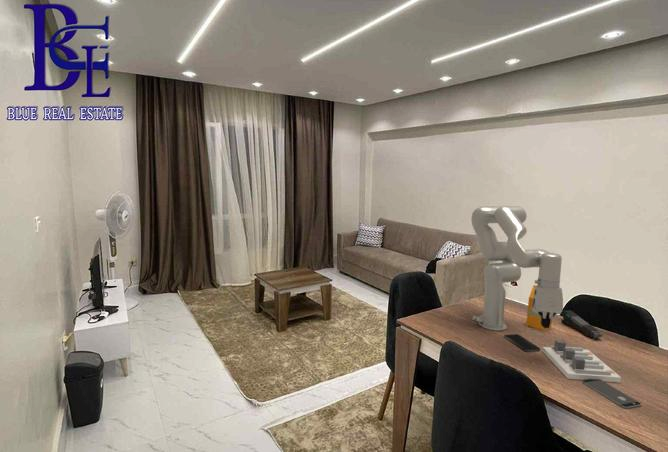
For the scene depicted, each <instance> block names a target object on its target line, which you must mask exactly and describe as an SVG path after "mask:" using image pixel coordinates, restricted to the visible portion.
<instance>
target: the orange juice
mask: <svg viewBox="0 0 668 452" xmlns="http://www.w3.org/2000/svg"><path fill="white" fill-rule="evenodd" d="M535 288H536V285H533V286H532V288H531V291H530V294H529V297H528V302H527V303H528V305H527V313H526V326H529V327H532V328H534V329H537V330H541V331H544V332H546V331H547V330H549V329H551V328H552V322H553V318H552V319H551V322H550V326H549V328H544V327H543V326H542V325H541V316H540V315H539V314H537V313H534V312H532V309H533V306H532V302H533V295H534V291H535ZM546 313H547V312H546Z"/></svg>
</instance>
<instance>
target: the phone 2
mask: <svg viewBox="0 0 668 452" xmlns="http://www.w3.org/2000/svg"><path fill="white" fill-rule="evenodd" d="M581 383H582V384H583V385H585V386H587V387H588V388H590V389H591V390H593V391H595V392H596V393H598V394H600V396H603V397H604V398H606V399H607V400H609V401H611V402H612V403H614V404H616V406H619V407H620V408H622V409H625V410H627V409H628V410H630V409H633V408H640V407H641V406H642V404H641V403H640V402H639V401H637V400H636V399H634V398H633V397H631V396H629V395H627V394H626V393H624V392H622V391H620V390H619V389H617V388H616V387H614V386H612V385H610V384H608V383H607V382H605V381H602V380H598V379H587V380H581Z"/></svg>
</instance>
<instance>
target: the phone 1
mask: <svg viewBox="0 0 668 452" xmlns="http://www.w3.org/2000/svg"><path fill="white" fill-rule="evenodd" d="M503 338H504V339H505V340H507V341H509V342H510V343H511V344H513V345H514V346H515V347H517V348H519V349H520V350H521V351H523V352H525V353H532V352H540V351H541V347H539V346H537V345H536V344H534V343H533V342H531V341H529V340H528V339H526V338H525V337H524V336H522V335H521V334H518V333H513V334H504V335H503Z"/></svg>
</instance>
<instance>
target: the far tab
mask: <svg viewBox="0 0 668 452" xmlns="http://www.w3.org/2000/svg"><path fill="white" fill-rule="evenodd" d="M566 345H567V342H565V341H564V340H562V339H555V340H554V345H553V346H554V350H555V351H563V348H565V347H567V346H566Z"/></svg>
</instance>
